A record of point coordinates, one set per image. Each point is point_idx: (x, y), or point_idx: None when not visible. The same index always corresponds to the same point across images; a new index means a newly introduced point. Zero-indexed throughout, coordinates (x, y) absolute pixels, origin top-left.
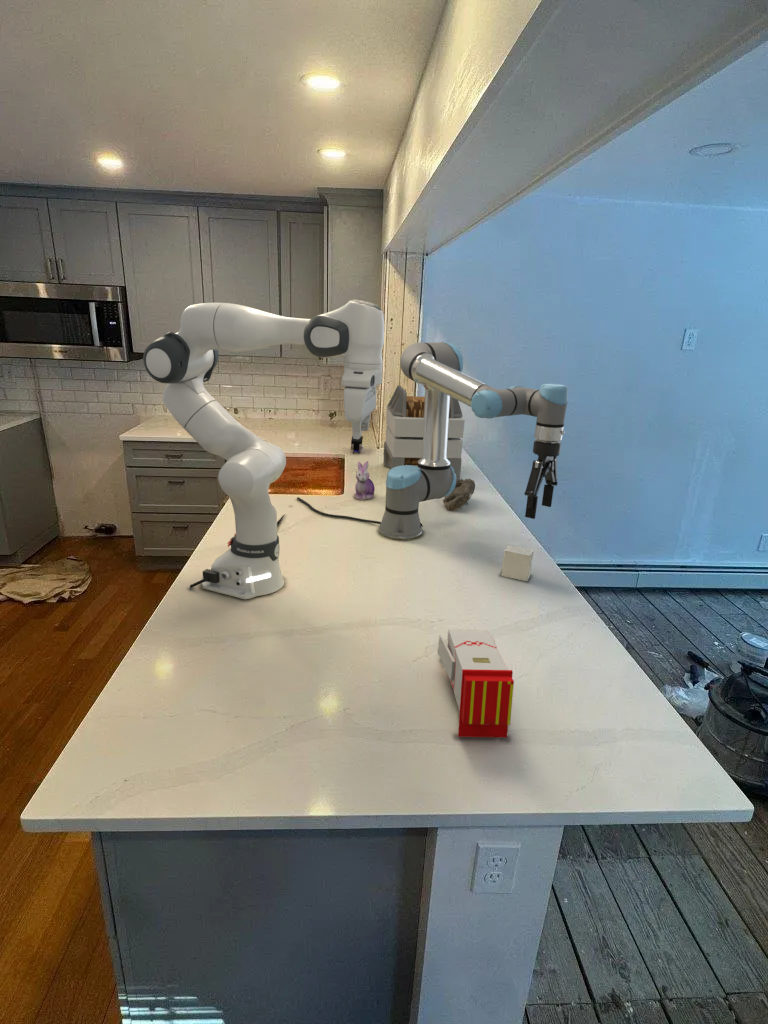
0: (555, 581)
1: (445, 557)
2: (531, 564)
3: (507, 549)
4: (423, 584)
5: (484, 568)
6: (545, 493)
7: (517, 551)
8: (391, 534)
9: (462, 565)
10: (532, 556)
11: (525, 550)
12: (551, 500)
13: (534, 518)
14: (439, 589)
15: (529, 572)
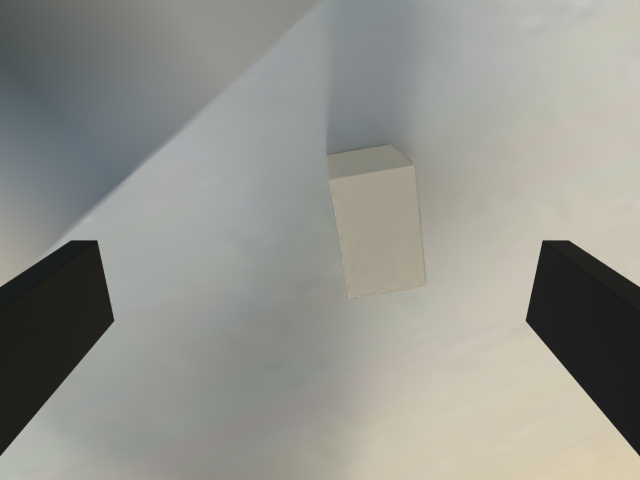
0: (313, 45)
1: (377, 426)
2: (338, 162)
3: (405, 280)
4: None
5: (378, 306)
6: (24, 391)
7: (400, 236)
8: None
9: (401, 366)
10: (345, 170)
11: (363, 210)
12: (44, 271)
13: (560, 241)
14: None
15: (362, 153)
